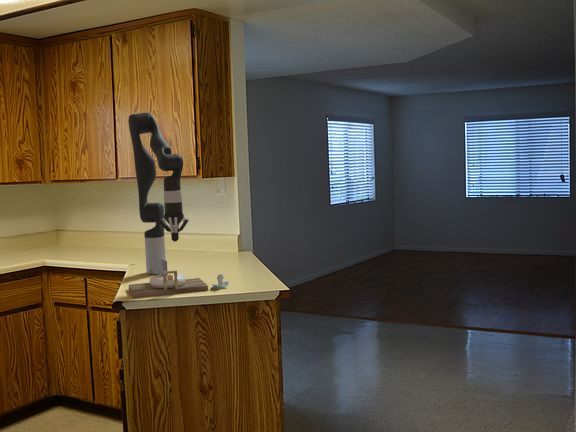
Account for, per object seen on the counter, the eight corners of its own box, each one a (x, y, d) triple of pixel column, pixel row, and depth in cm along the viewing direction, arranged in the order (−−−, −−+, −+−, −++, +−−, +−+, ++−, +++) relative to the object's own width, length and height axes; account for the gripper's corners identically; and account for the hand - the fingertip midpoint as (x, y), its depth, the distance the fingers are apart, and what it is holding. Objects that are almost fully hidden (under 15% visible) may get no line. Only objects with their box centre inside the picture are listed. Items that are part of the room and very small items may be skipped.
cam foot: (142, 280, 282) (141, 258, 281) (175, 276, 287) (174, 255, 286) (154, 289, 261) (152, 266, 260) (189, 285, 267) (188, 263, 266)
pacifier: (207, 289, 271) (216, 290, 267) (206, 274, 271) (215, 275, 266) (222, 286, 276) (230, 287, 271) (221, 271, 276) (229, 272, 271)
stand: (128, 289, 274) (127, 267, 273) (199, 282, 284) (198, 261, 283) (133, 298, 257) (131, 275, 256) (208, 290, 267) (207, 268, 266)
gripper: (155, 202, 276) (157, 243, 278) (186, 201, 275) (188, 242, 277) (160, 200, 283) (162, 240, 285) (190, 199, 282) (192, 239, 284)
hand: (175, 241), depth 281 cm, fingers closed
